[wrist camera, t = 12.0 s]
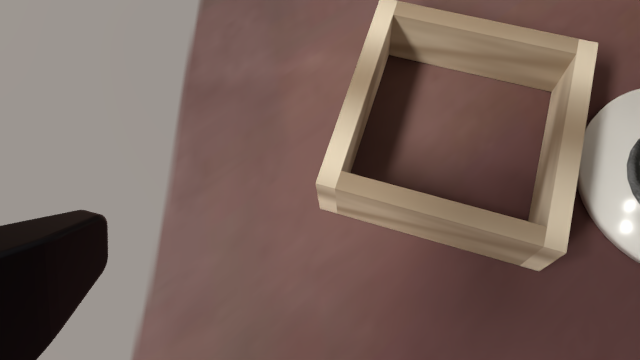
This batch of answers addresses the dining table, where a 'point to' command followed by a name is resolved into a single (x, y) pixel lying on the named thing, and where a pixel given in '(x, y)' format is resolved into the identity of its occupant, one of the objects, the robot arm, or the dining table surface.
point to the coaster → (612, 172)
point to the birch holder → (485, 60)
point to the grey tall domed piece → (634, 170)
